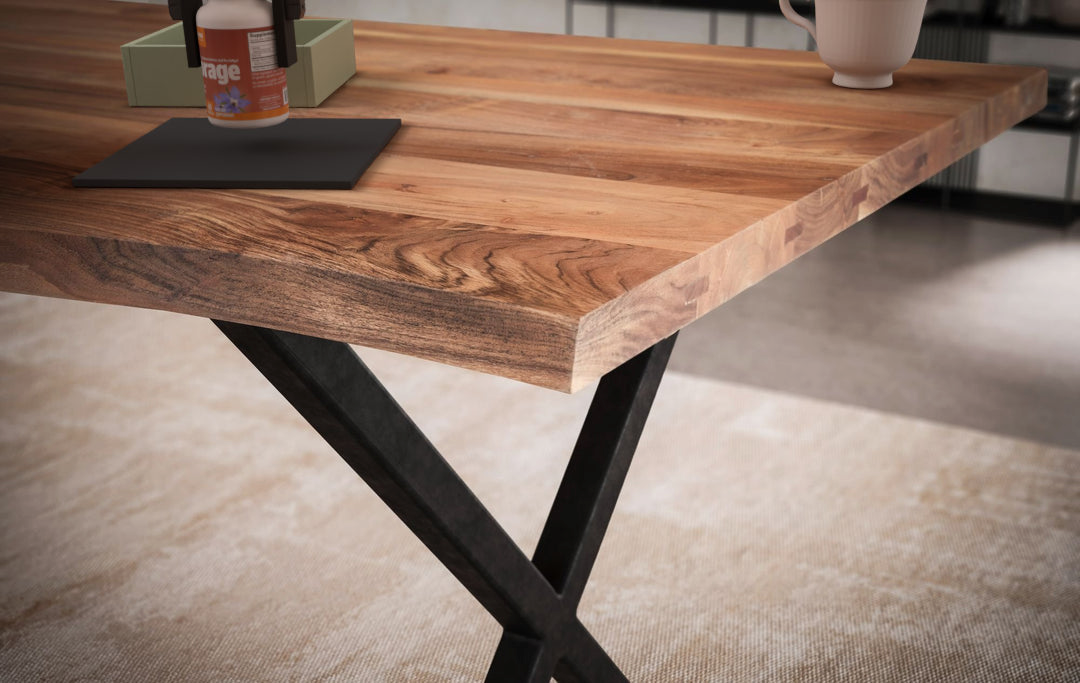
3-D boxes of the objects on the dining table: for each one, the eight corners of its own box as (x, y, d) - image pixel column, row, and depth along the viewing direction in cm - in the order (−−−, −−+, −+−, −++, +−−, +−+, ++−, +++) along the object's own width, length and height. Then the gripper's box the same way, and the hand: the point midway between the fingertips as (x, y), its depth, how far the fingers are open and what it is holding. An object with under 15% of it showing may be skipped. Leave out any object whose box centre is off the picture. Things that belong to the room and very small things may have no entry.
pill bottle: (192, 123, 90) (172, -27, 85) (257, 110, 94) (241, -34, 90) (241, 134, 86) (223, -22, 82) (306, 119, 90) (292, -30, 86)
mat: (72, 186, 82) (71, 178, 82) (173, 124, 101) (172, 117, 101) (351, 189, 81) (350, 181, 81) (401, 125, 100) (401, 118, 99)
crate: (128, 106, 108) (119, 46, 106) (193, 72, 124) (186, 19, 122) (316, 107, 107) (310, 46, 105) (356, 72, 123) (352, 18, 121)
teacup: (792, 66, 123) (799, -32, 119) (937, 78, 117) (950, -27, 113) (755, 86, 114) (761, -21, 110) (910, 100, 107) (923, -14, 103)
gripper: (355, -278, 82) (378, 56, 91) (91, -272, 83) (139, 56, 92) (331, -288, 75) (357, 73, 84) (43, -282, 76) (100, 73, 86)
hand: (243, 64), depth 88 cm, fingers closed on pill bottle, 6 cm apart
